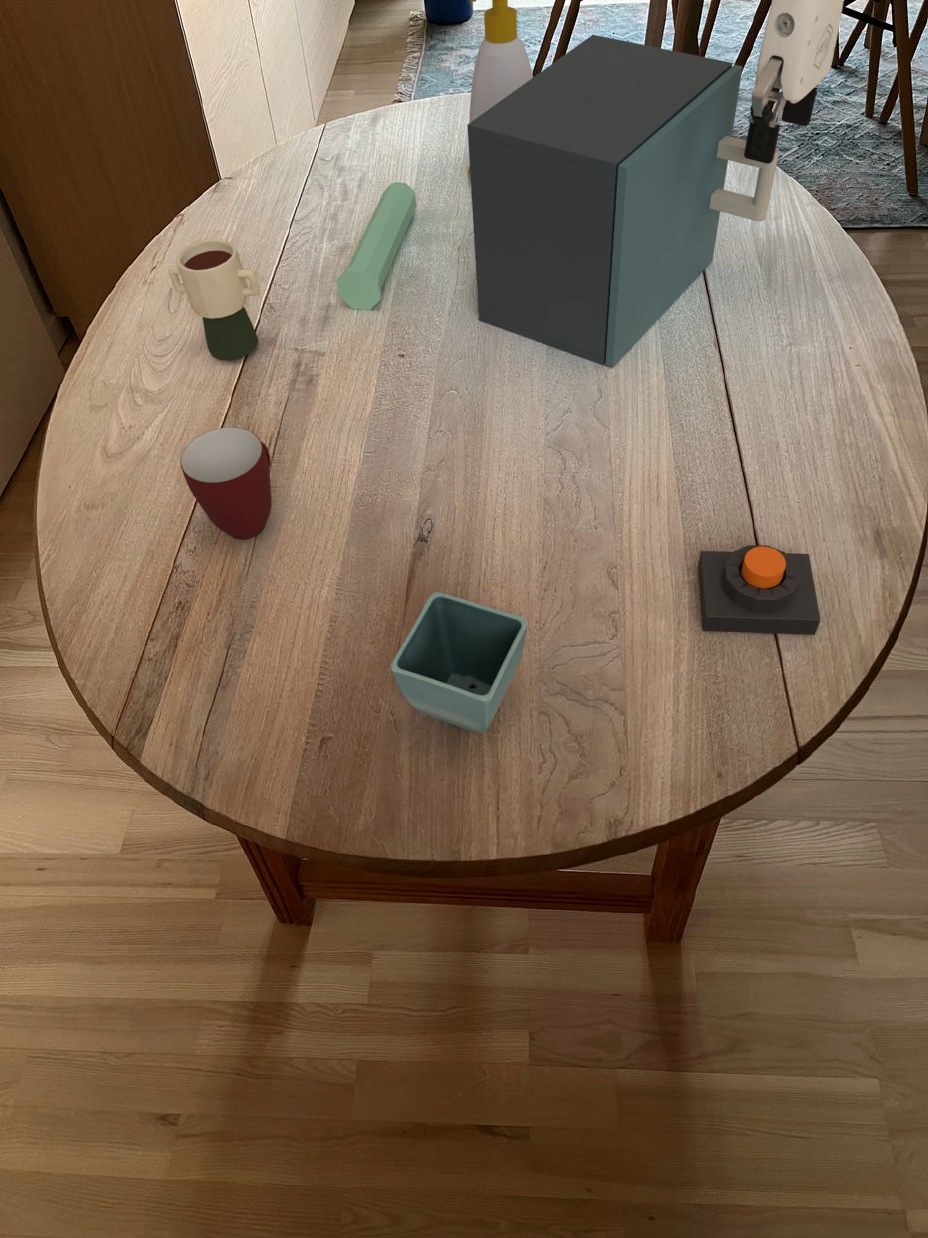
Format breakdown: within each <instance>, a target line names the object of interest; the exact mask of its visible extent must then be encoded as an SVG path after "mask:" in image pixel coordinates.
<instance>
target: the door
mask: <svg viewBox="0 0 928 1238" xmlns="http://www.w3.org/2000/svg"><path fill="white" fill-rule="evenodd" d="M742 74H743V65H739V64H734V65H732V68H730V69H729V70H728V71H727V72H726V73H725V74H723V75H722V76H721V77H720V78H719V79H718V80H717V81H715V82H714V83H713V84H712V85H711V86H710V87H708V88H707V89H706V90H705V91H704V92H703V93H702V94H700V95H699V96H698V97H697V98H696V99H695V100H694V101H692V102H691V103H690V104H689V105H688V106H687V107H685V108H684V109H683V110H682V111H681V112H680V113H679V114H677V115H676V116H675V117H674V118H673V119H672V120H671V121H669V122H668V123H667V124H666V125H665V126H664V127H662V128H661V129H660V130H659V131H658V132H657V133H656V134H654V135H653V136H652V137H651V138H650V139H649V140H647V141H646V142H645V143H644V144H643V145H642V146H641V147H639V148H638V149H637V150H636V151H635V152H634V153H633V154H631V155H630V156H629V157H628V158H627V159H626V160H624V161H623V162H622V163H621V164H620V165H619V166H618V178H617V193H616V209H615V224H614V240H613V255H612V271H611V286H610V302H609V317H608V333H607V348H606V363H605V364H604V365H605V366H607V367H610V368H614V367H615V366H616V365H617V363H618V362H619V361H621V360H622V358H623V357H624V356H625V355H626V354H627V353H628V352H629V351H630V350H631V349H632V348H633V346H634V345H635V344H637V342H638V341H639V340H640V339H641V338H642V337H643V336H644V335H645V334H646V333H647V332H648V330H650V328H651V327H652V326H653V325H654V324H656V322H658V320H659V319H660V318H661V317H662V316H663V314H664V313H665V312H666V311H667V310H669V308H670V307H671V306H672V305H673V304H674V303H675V302H676V301H677V299H679V297H680V296H682V294H684V292H685V291H686V290H687V289H688V288H689V287H690V286H691V285H692V284H693V283H694V282H695V281H696V279H697V278H698V277H699V276H700V275H701V274H703V272H704V271H705V270H707V269H706V268H708V267H709V266H710V265H711V264H712V262H713V261H714V253H715V248H716V243H717V241H716V240H717V235H718V228H719V221H720V216H721V213H725V214H729V215H732V216H736V217H740V218H743V219H746V220H751V221H754V222H763V221H765V220H766V219H767V217H768V216H767V215H768V210H769V206H770V205H769V204H770V200H771V195H772V190H773V185H774V179H775V175H776V171H777V170H776V169H777V165H778V160H779V154H780V149H779V148H777V147H776V150H775V155H774V159H773V161H772V162H771V163H770V164H766V163H762V162H759V161H755V160H751V159H747V158H745V156H744V152H745V146H746V141H747V139H742V138H738V137H733V132H734V126H735V119H736V114H737V107H738V100H739V93H740V86H741V82H742V81H741V80H742ZM729 161H730V162H733V163H739V164H742V165H747V166H751V167H754V168H759V169H758V173H757V180H756V183H755V184H756V185H755V191H754V196H750V195H747V194H744V193H743V194H742V193H739V192H735V191H731V190H727V189H725V182H726V176H727V169H728V164H729Z"/></svg>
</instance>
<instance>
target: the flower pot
mask: <svg viewBox="0 0 928 1238" xmlns="http://www.w3.org/2000/svg"><path fill="white" fill-rule="evenodd" d="M528 623H529V621H528V619H527V618H526V617H522V616H521V615H516V614H513V613H510V612H506V611H503V610H500V609H496V608H493V607H490V606H486V605H483V604H480V603H478V602H477V603H476V602H473V601H469V600H467V599H464V598H461V597H457V596H453V595H451V594H448V593H445V592H439V591H434V592H433V593H431V595H430V596H429V597H428V599H427V601H426V603H425V604H424V606H423V607H422V610H421V612H420V614H419V615H418V617H417V619H416V620H415V622H414V623H413V626H412V627H411V630H410V631H409V633H408V634H407V636H406V638H405V639H404V641H403V643H402V644H401V646H400V648H398V651H397V653H396V655H395V656H394V658H393V659H392V661H391V663H390V666H389V667H390V671H391V672H392V675H393V677H394V680H395V682H396V685H397V687H398V689H399V691H400V693H401V695H402V697H403V699H404V700H405V701H406V703H408V705H410V707H412V708H413V709H415V710H416V711H417V712H419V713H422V714H423V715H425V716H427V717H429V718H432V719H434V720H438V721H440V722H443V723H445V724H446V723H447V724H450V725H453V726H456V727H458V728H461V729H463V730H466V731H469V732H472V733H476V734H483V733H485V732H486V731H487V730H489V728H490V726H491V724H492V722H493V721H494V718H495V716H496V713H497V711H498V709H499V707H500V705H501V703H502V701H503V699H504V697H505V695H506V692H507V691H508V688H509V687H510V684H511V682H512V680H513V678H514V676H515V675H516V672H517V670H518V668H519V666H520V663H521V660H522V658H523V654H524V653H523V652H524V647H525V641H526V637H527V632H528V631H527V630H528ZM471 687H474V689H471Z"/></svg>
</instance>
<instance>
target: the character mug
mask: <svg viewBox="0 0 928 1238" xmlns="http://www.w3.org/2000/svg"><path fill="white" fill-rule="evenodd" d="M175 262H176V265H172V266H168V275H169V278H170V281H171V284H172V287H173V289H174V291H175V292H178V293H186V296H187V299H188V303H189V305H190V307H191V309H192V310H193V312H194V313H195V314H196V315H198V316H199V317H201V318H202V324H203V329H204V330H203V331H204V336H205V340H206V341H205V342H206V347H207V350H208V351H209V353H210V355H211V357H213V358H215V359H217V360H218V361H222V362H232V361H236V360H239V359H243V358H244V357H246V356H247V355H249V354H250V353H252V352H253V351H254V350H255V349H256V347H258V344H259V341H260V340H259V337H258V335H257V332H256V329H255V326H254V325H253V322H252V320H251V318H250V315H249V314H248V311H247V309H246V308H245V305H246V304H247V300H248V297H257V296H260V295H261V289H260V285H259V281H258V277H257V274H256V272H255V270H253V269H244V267H243V265H242V262H241V258H240V254H239V253H238V250H237V248H236V246H235V244H234V243H232V242H231V241H229V240H228V239H223V238H217V237H216V238H212V237H211V238H205V239H201V240H198V241H194V242H192V243H190V244H188V245H187V246H184V247H183V248H182V249H181V250H180V251H179V252H178V253H177V255H176V258H175ZM180 278H181V280H180ZM247 279H248V282H249V286H248V282H247Z"/></svg>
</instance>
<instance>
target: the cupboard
mask: <svg viewBox="0 0 928 1238" xmlns="http://www.w3.org/2000/svg"><path fill="white" fill-rule="evenodd" d="M732 67H733V62H731V61H725V60H721V59H715V58H710V57H707V56H706V57H705V56H702V55H701V56H700V55H696V54H692V53H691V54H690V53H687V52H686V53H685V52H681V51H677V50H672V49H671V50H670V49H666V48H661V47H656V46H651V45H646V44H643V43H642V44H641V43H637V42H631V41H626V40H621V39H617V38H612V37H607V36H601V35H596V34H592V35H591V36H588V37H587V38H586V39H585V40H584V41H582V42H581V43H579V44H578V45H576V46H575V47H574V48H572V49H570V50H569V51H567V53H565V54H564V55H562V56H560V57H559V58H558V59H557V60H555V61H554V62H553V63H551V64H550V65H549V66H547V67H545V68H544V69H543V70H541V71H540V72H538V74H536V75H535V76H533V78H532V79H530V80H529V81H528V82H526V83H525V84H523V85H522V86H521V87H519V88H518V89H516V90H515V91H514V92H512V93H511V94H510V95H508V96H507V97H505V98H504V99H503V100H501V101H500V102H498V103H497V104H496V105H494V106H493V107H491V108H490V109H489V110H487V111H486V112H484V113H483V114H482V115H480V116H479V117H477V118H476V119H475V120H473V121H472V122H471V123H469V122H468V123H467V125H466V126H467V142H468V158H469V159H468V160H469V166H470V177H469V179H470V178H471V179H470V193H471V194H470V195H471V208H472V211H471V212H472V225H473V227H472V228H473V242H474V259H475V274H476V275H475V276H476V289H477V290H476V293H477V294H476V295H477V309H478V311H477V312H478V321H480V322H483V323H485V324H489V325H491V326H494V327H496V328H500V329H502V330H505V331H508V332H511V333H513V334H516V335H518V336H521V337H524V338H527V339H530V340H533V341H535V342H537V343H538V342H539V343H541V344H543V345H547V346H549V347H551V348H554V349H556V350H559V351H563V352H566V353H568V354H571V355H574V356H576V357H580V358H581V359H585V360H587V361H591V362H593V363H596V364H599V365H602V366H604V365H605V364H606V348H607V333H608V317H609V302H610V286H611V271H612V255H613V240H614V224H615V209H616V193H617V178H618V166H619V165H620V164H621V163H622V162H623V161H624V160H626V159H627V158H628V157H629V156H630V155H631V154H633V153H634V152H635V151H636V150H637V149H638V148H639V147H641V146H642V145H643V144H644V143H645V142H646V141H647V140H649V139H650V138H651V137H652V136H653V135H654V134H656V133H657V132H658V131H659V130H660V129H661V128H662V127H664V126H665V125H666V124H667V123H668V122H669V121H671V120H672V119H673V118H674V117H675V116H676V115H677V114H679V113H680V112H681V111H682V110H683V109H684V108H685V107H687V106H688V105H689V104H690V103H691V102H692V101H694V100H695V99H696V98H697V97H698V96H699V95H700V94H702V93H703V92H704V91H705V90H706V89H707V88H708V87H710V86H711V85H712V84H713V83H714V82H715V81H717V80H718V79H719V78H720V77H721V76H722V75H723V74H725V73H726V72H727V71H728V70H729V69H730V68H732Z"/></svg>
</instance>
